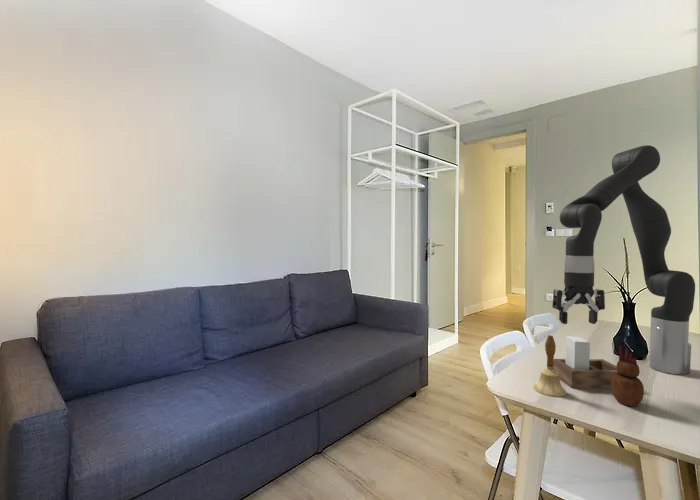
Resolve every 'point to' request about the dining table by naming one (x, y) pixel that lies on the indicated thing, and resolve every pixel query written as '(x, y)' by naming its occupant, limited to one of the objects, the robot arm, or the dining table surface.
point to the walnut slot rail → (586, 374)
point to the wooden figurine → (627, 380)
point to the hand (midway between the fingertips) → (578, 323)
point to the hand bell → (550, 374)
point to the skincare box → (577, 353)
